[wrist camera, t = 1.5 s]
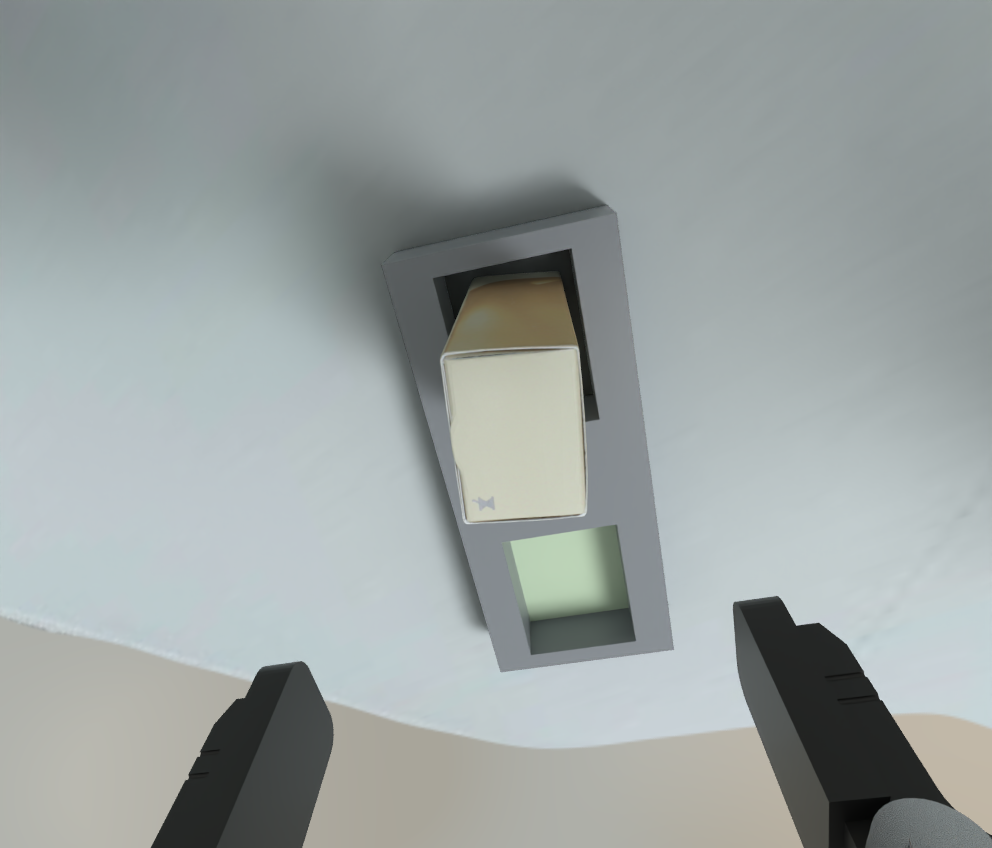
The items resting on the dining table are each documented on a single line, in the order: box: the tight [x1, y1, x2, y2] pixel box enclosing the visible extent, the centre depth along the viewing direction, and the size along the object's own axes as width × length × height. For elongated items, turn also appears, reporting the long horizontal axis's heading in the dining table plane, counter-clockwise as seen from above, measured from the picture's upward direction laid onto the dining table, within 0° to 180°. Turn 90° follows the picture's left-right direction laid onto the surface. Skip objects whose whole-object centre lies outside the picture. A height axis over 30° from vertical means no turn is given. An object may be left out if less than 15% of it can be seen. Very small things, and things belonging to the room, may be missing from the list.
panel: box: [382, 205, 674, 672], centre depth 32 cm, size 10×24×3 cm, turn 12°
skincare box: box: [440, 271, 588, 524], centre depth 25 cm, size 6×4×12 cm
